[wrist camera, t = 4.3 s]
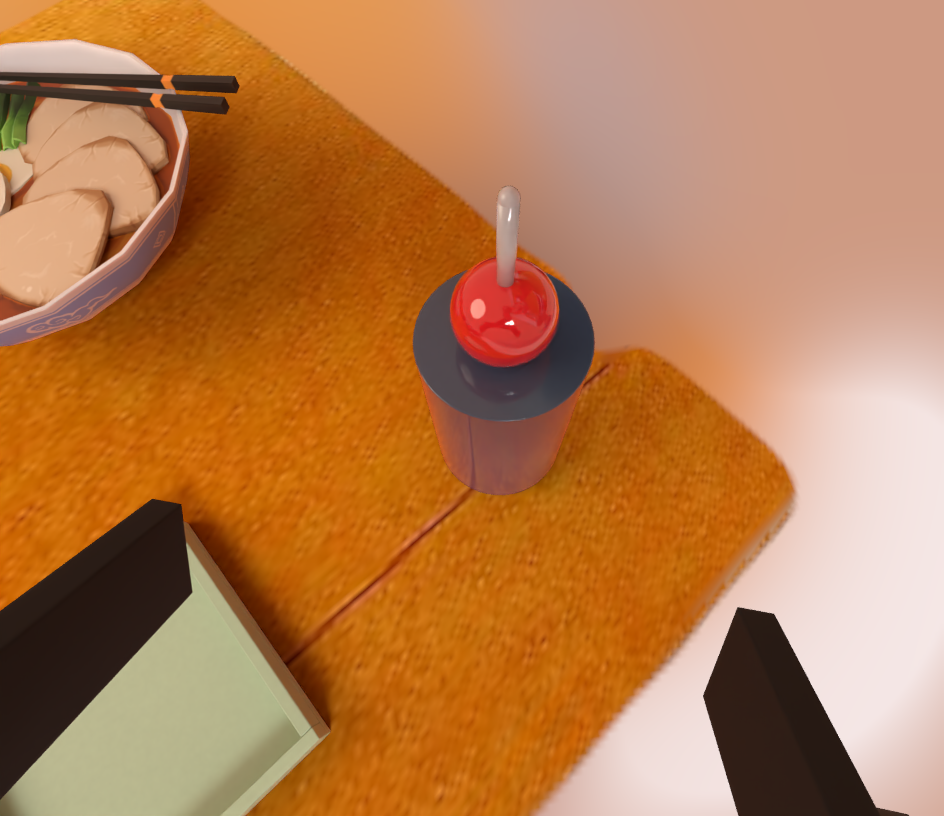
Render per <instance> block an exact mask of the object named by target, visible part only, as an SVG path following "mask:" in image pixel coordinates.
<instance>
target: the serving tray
mask: <svg viewBox="0 0 944 816" xmlns="http://www.w3.org/2000/svg"><path fill="white" fill-rule="evenodd" d="M183 522H184V521H183ZM184 530H185V537H186V545H187V553H188V560H189V568H190V576H191V584H192V591H193V593H192V594H191V595H190V596H189V597H188V598H187V599H186V600H185V601H184V603H183V604H182V605H181V606H180V607H179V608H178V609H177V610H176V611H175V612H174V613H173V614H172V615H171V617H170V618H169V619H168V620H167V621H166V622H165V623H164V624H163V625H162V626H161V627H160V628H159V629H158V631H157V632H156V633H155V634H154V635H153V636H152V637H151V638H150V639H149V640H148V641H147V642H146V643H145V645H144V646H143V647H142V648H141V649H140V650H139V651H138V652H137V653H136V654H135V655H134V656H133V657H132V659H131V660H130V661H129V662H128V663H127V664H126V665H125V666H124V667H123V668H122V669H121V670H120V671H119V673H118V674H117V675H116V676H115V677H114V678H113V679H112V680H111V681H110V682H109V683H108V684H107V686H106V687H105V688H104V689H103V690H102V691H101V692H100V693H99V694H98V695H97V696H96V697H95V698H94V700H93V701H92V702H91V703H90V704H89V705H88V706H87V707H86V708H85V709H84V710H83V711H82V712H81V714H80V715H79V716H78V717H77V718H76V719H75V720H74V721H73V722H72V723H71V724H70V725H69V726H68V728H67V729H66V730H65V731H64V732H63V733H62V734H61V735H60V736H59V737H58V738H57V739H56V740H55V742H54V743H53V744H52V745H51V746H50V747H49V748H48V749H47V750H46V751H45V752H44V753H43V754H42V756H41V757H40V758H39V759H38V760H37V761H36V762H35V763H34V764H33V765H32V766H31V767H30V768H29V770H28V771H27V772H26V773H25V774H24V775H23V776H22V777H21V778H20V779H19V780H18V781H17V782H16V784H15V785H14V786H13V787H12V788H11V789H10V790H9V791H8V792H7V793H6V794H5V795H4V796H3V798H2V799H1V800H0V816H245V815H246V814H247V813H248V812H249V811H250V810H251V809H252V808H253V807H254V806H255V805H257V804H258V803H259V802H260V801H261V800H262V799H263V798H264V797H265V796H266V795H267V794H268V793H269V792H270V791H271V790H272V789H273V788H274V787H275V786H276V785H277V784H278V783H279V782H280V781H281V780H282V779H283V778H284V777H285V776H286V775H287V774H288V773H289V772H290V771H291V770H292V769H293V768H294V767H295V766H296V765H298V764H299V763H300V762H301V761H302V760H303V759H304V758H305V757H306V756H307V755H308V754H309V753H310V752H311V751H312V750H313V749H314V748H315V747H316V746H317V745H318V744H319V743H320V742H321V741H322V740H323V739H324V738H325V737H326V736H327V735H328V734H329V733H330V732H331V731H330V729H329V728H328V726H327V725H326V723H325V722H324V720H323V719H322V718H321V716H320V715H319V713H318V712H317V710H316V709H315V707H314V706H313V704H312V703H311V701H310V700H309V699H308V697H307V696H306V694H305V693H304V691H303V690H302V688H301V687H300V685H299V684H298V683H297V681H296V680H295V678H294V677H293V675H292V674H291V672H290V671H289V669H288V668H287V667H286V665H285V664H284V662H283V661H282V659H281V658H280V656H279V655H278V653H277V652H276V651H275V649H274V648H273V646H272V645H271V643H270V642H269V640H268V639H267V637H266V636H265V635H264V633H263V632H262V630H261V629H260V627H259V626H258V624H257V623H256V621H255V620H254V619H253V617H252V616H251V614H250V613H249V611H248V610H247V608H246V607H245V605H244V604H243V602H242V601H241V600H240V598H239V597H238V595H237V594H236V592H235V591H234V589H233V588H232V586H231V585H230V584H229V582H228V581H227V579H226V578H225V576H224V575H223V573H222V572H221V570H220V569H219V568H218V566H217V565H216V563H215V562H214V560H213V559H212V557H211V556H210V554H209V553H208V552H207V550H206V549H205V547H204V546H203V544H202V543H201V541H200V540H199V538H198V537H197V536H196V534H195V533H194V531H193V530H192V528H191V527H190V525H189V524H188V523H187V522H184Z"/></svg>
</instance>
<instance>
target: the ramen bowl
mask: <svg viewBox="0 0 944 816" xmlns="http://www.w3.org/2000/svg"><path fill="white" fill-rule="evenodd" d="M238 88H239V84H238V82H237V80H236V78H235V76H205V75H171V76H166V75H160V74H159V73H157V72H156V71H155V70H154V69H152V68H151V67H150V66H148V65H147V64H146V63H144V62H143V61H142V60H140V59H139V58H138V57H136V56H135V55H134V54H133V53H129V52H125V51H121V50H117V49H113V48H109V47H105V46H101V45H97V44H92V43H88V42H84V41H80V40H76V39H71V40H55V41H39V42H23V43H7V44H3V45H0V346H10V345H15V344H20V343H24V342H29V341H32V340H35V339H38V338H41V337H43V336H46V335H49V334H52V333H54V332H57V331H60V330H63V329H65V328H68V327H71V326H74V325H77V324H79V323H82V322H85V321H88V320H90V319H92V318H93V317H94V316H96V315H97V314H98V313H100V312H101V311H102V310H104V309H105V308H107V307H108V306H109V305H111V304H112V303H113V302H115V301H116V300H117V299H119V298H120V297H122V296H123V295H124V294H126V293H127V292H128V291H130V290H131V289H132V288H134V287H135V286H136V285H138V284H139V283H140V282H141V281H142V279H143V278H144V277H145V275H146V274H147V273H148V271H149V270H150V269H151V267H152V266H153V265H154V263H155V262H156V261H157V259H158V258H159V257H160V255H161V254H162V253H163V251H164V250H165V249H166V247H167V246H168V245H169V243H170V242H171V241H172V238H173V236H174V233H175V230H176V227H177V222H178V218H179V214H180V209H181V205H182V201H183V196H184V192H185V188H186V183H187V177H188V169H189V160H190V152H189V139H188V130H187V127H186V124H185V121H184V118H183V115H182V111H181V110H184V111H195V112H205V113H216V114H226V113H227V111H228V109H229V105H228V103H227V101H226V99H225V97H214V96H197V95H180V94H176V93H175V90H185V91H204V92H222V93H237V91H238Z"/></svg>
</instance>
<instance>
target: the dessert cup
mask: <svg viewBox="0 0 944 816" xmlns="http://www.w3.org/2000/svg"><path fill="white" fill-rule="evenodd" d="M520 199H521V198H520V193H519V191H518V190H517V189H516V188H515V187H513V186H505V187H503V188H502V189H501V190H500V191H499V192H498V195H497V228H496V256H495V257H491V258H488V259H485V260H483V261H481V262H479V263H477V264H475V265H474V266H472V267H471V268H470V269H469V270H466V271H464V272H462V273H460V274H457V275H455V276H454V277H452V278H451V279H449V280H447V281H446V282H445V283H443V284H442V285H441V286H440V287H438V288H437V289H436V290H435V291H434V292H433V293H432V294H431V296H430V297H429V298H428V300H427V301H426V302H425V304H424V306H423V307H422V309H421V311H420V313H419V315H418V318H417V321H416V324H415V328H414V334H413V352H414V357H415V361H416V365H417V369H418V372H419V376H420V379H421V383H422V386H423V390H424V393H425V397H426V400H427V404H428V407H429V411H430V414H431V418H432V421H433V425H434V428H435V432H436V435H437V439H438V442H439V446H440V449H441V453H442V455H443V458H444V461H445V463H446V464H447V466H448V468H449V469H450V471H451V472H452V473H453V474H454V475H455V476H456V477H457V478H458V479H459V480H460V481H461V482H462V483H464V484H465V485H467V486H468V487H470V488H472V489H474V490H477V491H479V492H483V493H486V494H493V495H507V494H513V493H517V492H520V491H523V490H526V489H528V488H529V487H531V486H533V485H535V484H536V483H537V482H539V481H540V480H541V479H542V478H543V477H544V476H545V475H546V474H547V472H548V471H549V470H550V468H551V467H552V465H553V463H554V461H555V459H556V456H557V454H558V451H559V448H560V446H561V443H562V440H563V438H564V435H565V433H566V430H567V427H568V425H569V422H570V419H571V417H572V414H573V411H574V409H575V406H576V404H577V401H578V398H579V396H580V393H581V390H582V388H583V385H584V382H585V380H586V377H587V374H588V372H589V369H590V367H591V364H592V360H593V355H594V346H595V341H594V331H593V327H592V322H591V320H590V317H589V315H588V312H587V311H586V309H585V307H584V305H583V303H582V302H581V301H580V299H579V298H578V297H577V296H576V294H575V293H574V292H573V291H572V290H571V289H570V288H569V287H568V286H566V285H565V284H564V283H563V282H561V281H560V280H558V279H557V278H555V277H553V276H552V275H550V274H548V273H545V272H543V271H542V270H541V269H540V268H539V267H538V266H536V265H535V264H533V263H531V262H530V261H527V260H525V259H522V258H519V257H517V244H518V228H519V214H520Z"/></svg>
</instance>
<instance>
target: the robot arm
mask: <svg viewBox="0 0 944 816" xmlns="http://www.w3.org/2000/svg"><path fill="white" fill-rule="evenodd" d="M192 593H193V591H192V584H191V576H190V568H189V560H188V553H187V545H186V537H185V530H184V522H183V514H182V506H181V504H177V503H172V502H166V501H161V500H155V499H151V500H150V501H149V502H147V503H146V504H145V505H143V506H142V507H141V508H139V509H138V510H137V511H135V512H134V513H132V514H131V515H130V516H128V517H127V518H126V519H124V520H123V521H122V522H120V523H119V524H118V525H116V526H115V527H113V528H112V529H111V530H109V531H108V532H107V533H105V534H104V535H103V536H101V537H100V538H99V539H97V540H96V541H95V542H93V543H92V544H90V545H89V546H88V547H86V548H85V549H84V550H82V551H81V552H80V553H78V554H77V555H76V556H74V557H73V558H71V559H70V560H69V561H67V562H66V563H65V564H63V565H62V566H61V567H59V568H58V569H57V570H55V571H54V572H53V573H51V574H50V575H48V576H47V577H46V578H44V579H43V580H42V581H40V582H39V583H38V584H36V585H35V586H34V587H32V588H31V589H29V590H28V591H27V592H25V593H24V594H23V595H21V596H20V597H19V598H17V599H16V600H15V601H13V602H12V603H10V604H9V605H8V606H6V607H5V608H4V609H2V610H1V611H0V800H1V799H2V798H3V796H4V795H5V794H6V793H7V792H8V791H9V790H10V789H11V788H12V787H13V786H14V785H15V784H16V782H17V781H18V780H19V779H20V778H21V777H22V776H23V775H24V774H25V773H26V772H27V771H28V770H29V768H30V767H31V766H32V765H33V764H34V763H35V762H36V761H37V760H38V759H39V758H40V757H41V756H42V754H43V753H44V752H45V751H46V750H47V749H48V748H49V747H50V746H51V745H52V744H53V743H54V742H55V740H56V739H57V738H58V737H59V736H60V735H61V734H62V733H63V732H64V731H65V730H66V729H67V728H68V726H69V725H70V724H71V723H72V722H73V721H74V720H75V719H76V718H77V717H78V716H79V715H80V714H81V712H82V711H83V710H84V709H85V708H86V707H87V706H88V705H89V704H90V703H91V702H92V701H93V700H94V698H95V697H96V696H97V695H98V694H99V693H100V692H101V691H102V690H103V689H104V688H105V687H106V686H107V684H108V683H109V682H110V681H111V680H112V679H113V678H114V677H115V676H116V675H117V674H118V673H119V671H120V670H121V669H122V668H123V667H124V666H125V665H126V664H127V663H128V662H129V661H130V660H131V659H132V657H133V656H134V655H135V654H136V653H137V652H138V651H139V650H140V649H141V648H142V647H143V646H144V645H145V643H146V642H147V641H148V640H149V639H150V638H151V637H152V636H153V635H154V634H155V633H156V632H157V631H158V629H159V628H160V627H161V626H162V625H163V624H164V623H165V622H166V621H167V620H168V619H169V618H170V617H171V615H172V614H173V613H174V612H175V611H176V610H177V609H178V608H179V607H180V606H181V605H182V604H183V603H184V601H185V600H186V599H187V598H188V597H189V596H190V595H191V594H192ZM703 697H704V701H705V704H706V707H707V711H708V714H709V718H710V721H711V725H712V728H713V731H714V735H715V737H716V741H717V745H718V748H719V751H720V755H721V758H722V761H723V765H724V768H725V772H726V775H727V779H728V782H729V785H730V789H731V792H732V795H733V799H734V802H735V806H736V809H737V812H738V815H739V816H909V815H907V814H904V813H899V812H894V811H890V810H885V809H880V808H876V807H875V805H874V803H873V801H872V799H871V797H870V795H869V793H868V791H867V790H866V787H865V786H864V784H863V782H862V780H861V778H860V776H859V774H858V773H857V770H856V768H855V767H854V765H853V763H852V761H851V759H850V757H849V755H848V753H847V752H846V750H845V748H844V746H843V744H842V742H841V740H840V738H839V736H838V734H837V733H836V731H835V729H834V727H833V725H832V723H831V721H830V719H829V718H828V715H827V714H826V712H825V710H824V708H823V706H822V704H821V702H820V700H819V698H818V697H817V694H816V693H815V691H814V689H813V687H812V685H811V683H810V681H809V680H808V677H807V676H806V674H805V672H804V670H803V668H802V666H801V664H800V662H799V661H798V658H797V656H796V655H795V653H794V651H793V649H792V647H791V645H790V644H789V641H788V639H787V637H786V636H785V634H784V632H783V630H782V628H781V626H780V624H779V622H778V620H777V619H776V617H775V615H774V614H772V613H767V612H761V611H756V610H750V609H744V608H739V607H738V608H737V610H736V613H735V616H734V618H733V620H732V623H731V626H730V628H729V631H728V633H727V636H726V638H725V641H724V644H723V646H722V649H721V651H720V654H719V656H718V659H717V661H716V664H715V667H714V669H713V672H712V674H711V677H710V679H709V682H708V685H707V687H706V690H705V692H704V695H703Z"/></svg>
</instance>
